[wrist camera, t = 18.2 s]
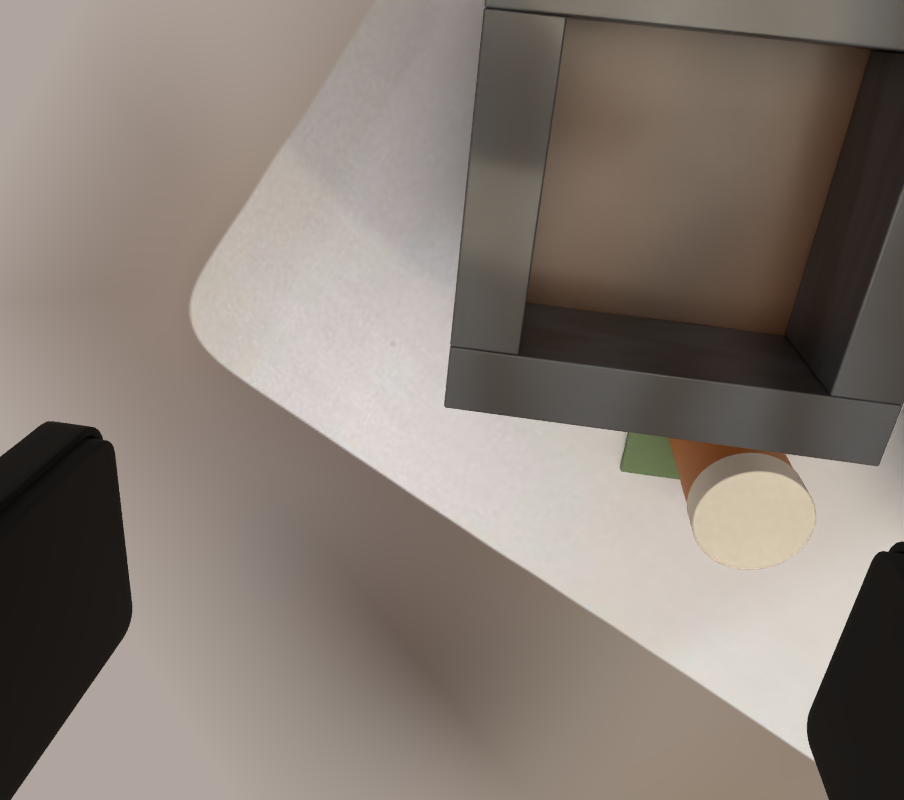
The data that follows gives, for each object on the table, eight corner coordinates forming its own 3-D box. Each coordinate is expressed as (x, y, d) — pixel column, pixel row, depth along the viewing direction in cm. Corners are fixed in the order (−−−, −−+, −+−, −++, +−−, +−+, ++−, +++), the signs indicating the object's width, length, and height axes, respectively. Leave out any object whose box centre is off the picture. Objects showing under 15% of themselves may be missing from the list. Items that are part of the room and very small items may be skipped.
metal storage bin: (486, 253, 49) (444, 407, 29) (520, -37, 42) (493, -91, 22) (744, 285, 48) (879, 467, 28) (823, -7, 41) (1076, -35, 21)
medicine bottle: (654, 452, 53) (680, 561, 42) (674, 369, 50) (707, 463, 40) (746, 465, 53) (796, 577, 42) (771, 382, 50) (832, 480, 39)
